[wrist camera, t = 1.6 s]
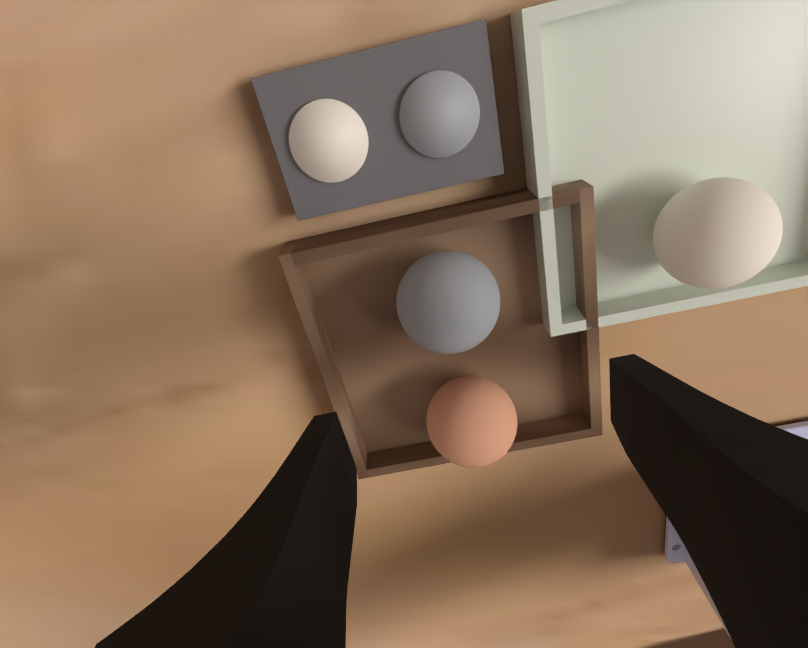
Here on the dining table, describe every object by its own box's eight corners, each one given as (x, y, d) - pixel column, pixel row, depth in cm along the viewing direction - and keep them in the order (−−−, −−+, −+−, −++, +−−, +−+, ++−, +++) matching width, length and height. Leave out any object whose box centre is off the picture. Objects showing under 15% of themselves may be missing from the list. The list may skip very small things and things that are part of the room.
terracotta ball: (511, 418, 24) (531, 478, 21) (432, 433, 25) (439, 495, 21) (501, 351, 22) (522, 405, 19) (416, 368, 23) (420, 424, 19)
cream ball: (731, 254, 20) (802, 294, 17) (634, 274, 21) (684, 317, 17) (741, 156, 19) (823, 179, 15) (634, 180, 19) (690, 207, 15)
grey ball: (495, 313, 22) (516, 362, 18) (406, 331, 22) (409, 383, 18) (483, 226, 20) (503, 262, 16) (386, 247, 20) (385, 287, 16)
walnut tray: (589, 412, 25) (602, 434, 23) (360, 454, 26) (358, 479, 24) (577, 176, 19) (593, 186, 18) (286, 242, 20) (278, 256, 19)
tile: (498, 168, 19) (505, 174, 18) (301, 213, 20) (296, 222, 19) (480, 21, 17) (487, 18, 16) (258, 78, 17) (249, 78, 16)
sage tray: (815, 262, 21) (847, 277, 20) (539, 318, 22) (550, 336, 21) (881, -81, 16) (933, -96, 14) (509, 13, 17) (521, 9, 15)
